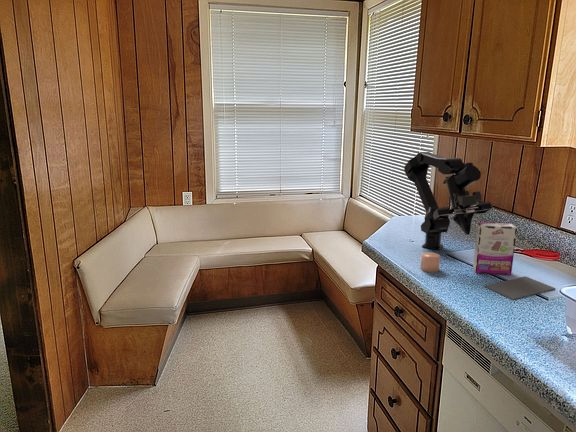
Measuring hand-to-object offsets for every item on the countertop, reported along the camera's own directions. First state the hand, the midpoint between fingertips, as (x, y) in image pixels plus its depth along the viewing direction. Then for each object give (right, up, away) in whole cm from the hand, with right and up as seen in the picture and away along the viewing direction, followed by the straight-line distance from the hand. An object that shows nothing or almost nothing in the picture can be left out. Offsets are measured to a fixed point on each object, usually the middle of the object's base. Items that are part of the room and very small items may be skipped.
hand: (468, 234), depth 142 cm
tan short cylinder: (-13, -12, 0) cm, 18 cm away
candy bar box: (+7, -12, -3) cm, 14 cm away
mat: (+9, -16, -15) cm, 24 cm away
